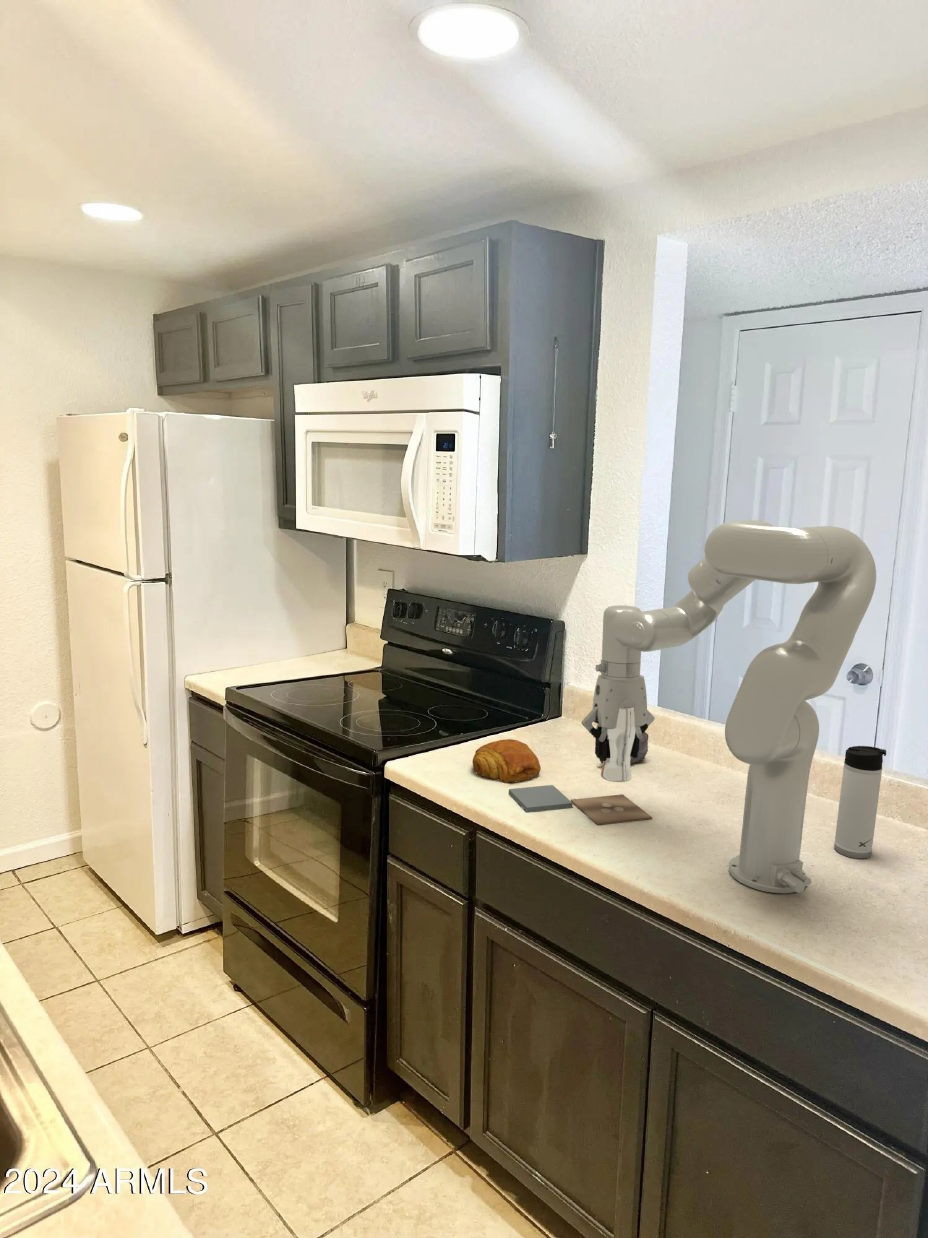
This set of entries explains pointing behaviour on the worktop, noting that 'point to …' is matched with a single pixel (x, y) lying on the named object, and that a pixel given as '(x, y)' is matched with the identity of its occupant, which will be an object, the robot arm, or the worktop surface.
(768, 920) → the worktop surface
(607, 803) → the dot tile
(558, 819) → the worktop surface
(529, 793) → the rubber mat
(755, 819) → the robot arm
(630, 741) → the beer glass
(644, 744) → the perforated stone tool
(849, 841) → the travel mug
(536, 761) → the croissant
